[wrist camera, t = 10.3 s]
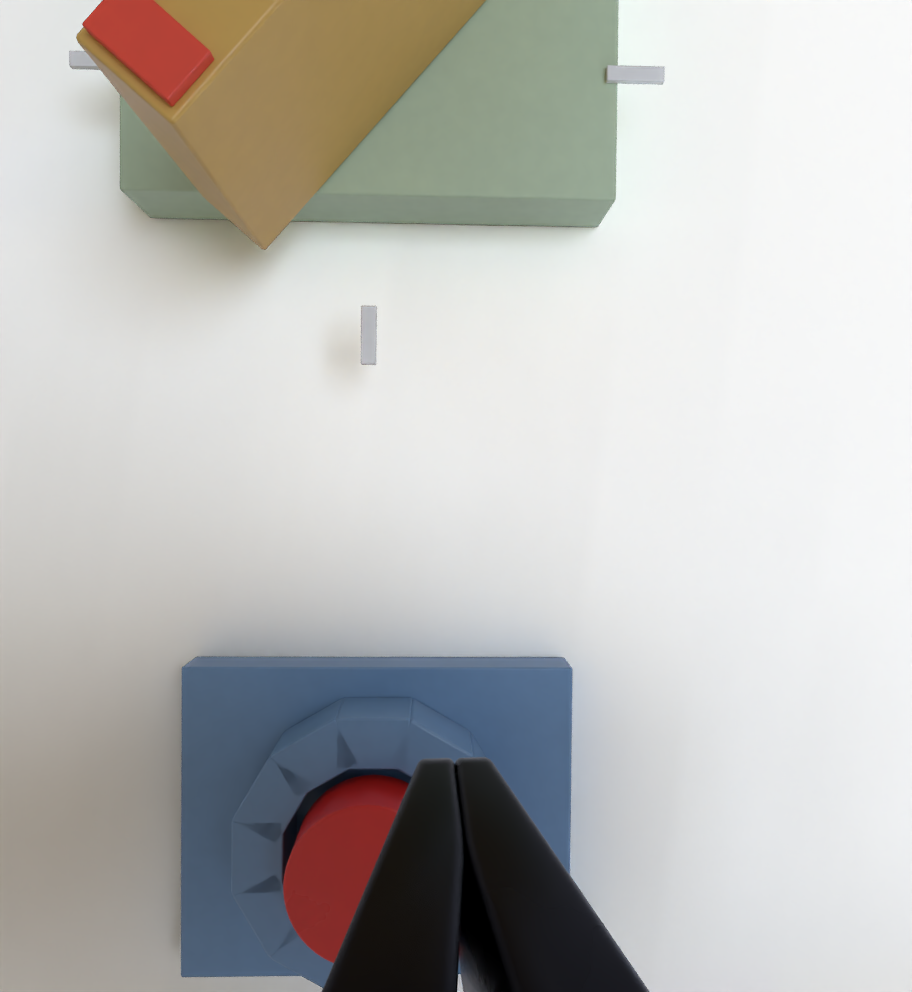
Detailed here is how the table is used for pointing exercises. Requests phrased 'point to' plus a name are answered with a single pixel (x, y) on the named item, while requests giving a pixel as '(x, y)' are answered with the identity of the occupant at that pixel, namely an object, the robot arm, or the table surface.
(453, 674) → the button box
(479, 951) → the robot arm
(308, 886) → the red button
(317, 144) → the brass bar
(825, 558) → the table surface
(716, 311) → the table surface
